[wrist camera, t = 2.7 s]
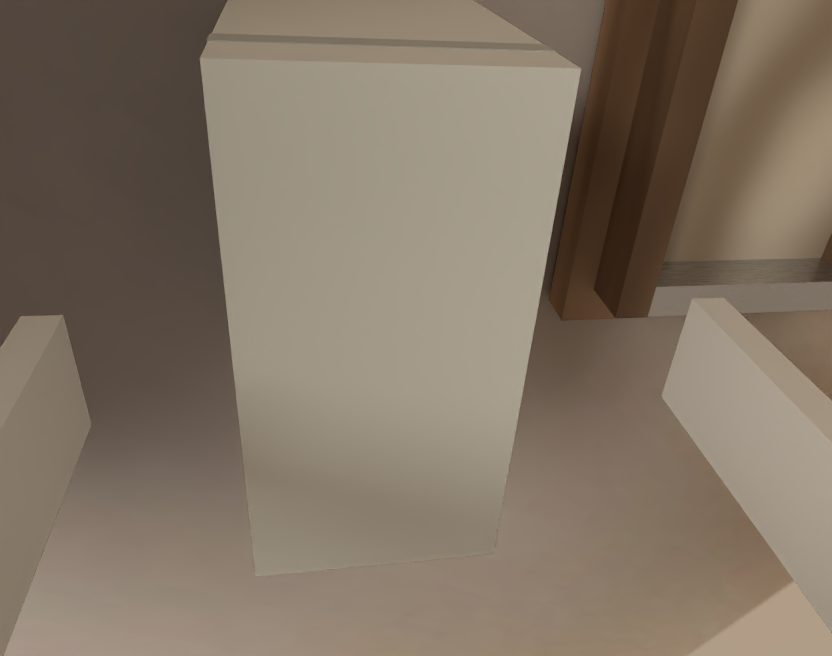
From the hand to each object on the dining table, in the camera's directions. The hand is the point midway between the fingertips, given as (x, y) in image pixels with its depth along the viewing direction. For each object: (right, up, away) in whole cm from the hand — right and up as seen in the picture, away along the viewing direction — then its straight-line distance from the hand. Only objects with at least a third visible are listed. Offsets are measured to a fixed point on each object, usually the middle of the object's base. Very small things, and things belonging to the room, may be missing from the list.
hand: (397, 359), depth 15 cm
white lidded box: (-2, +6, +8) cm, 10 cm away
